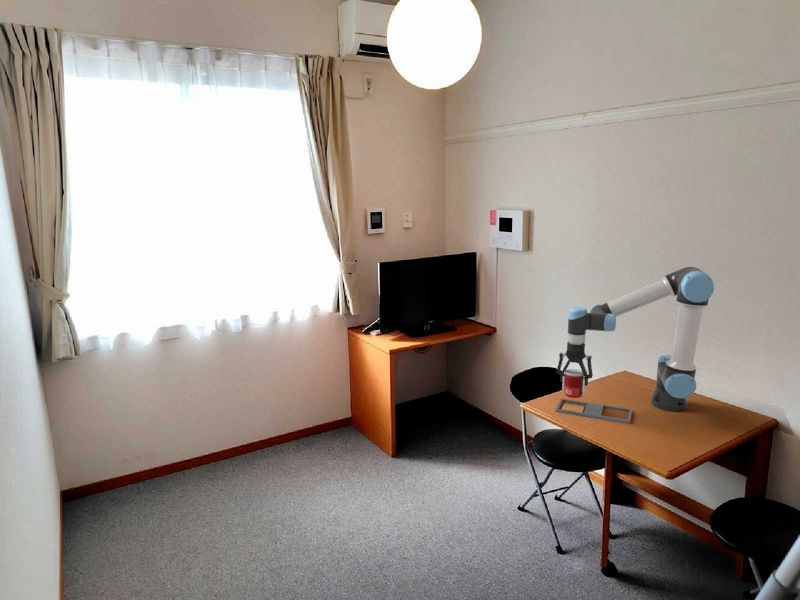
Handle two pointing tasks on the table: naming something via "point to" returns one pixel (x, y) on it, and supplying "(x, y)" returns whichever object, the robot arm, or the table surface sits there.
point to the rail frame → (590, 410)
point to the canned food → (573, 383)
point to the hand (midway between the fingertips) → (573, 390)
